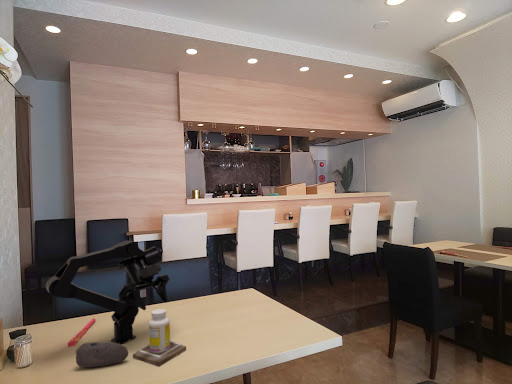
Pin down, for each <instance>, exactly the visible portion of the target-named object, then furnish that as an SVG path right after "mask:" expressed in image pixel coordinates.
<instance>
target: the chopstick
mask: <svg viewBox="0 0 512 384" xmlns="http://www.w3.org/2000/svg"><path fill="white" fill-rule="evenodd" d="M96 321H97V319H96V318H94V317H92V318H91V319H90V320H89V321H88V322H87V323H86V324H85V325H84V326H83V327H82V328H81V329H80V330H78V332H77V333H75V334H74V336H73V337H72V338H71V339H70V340H69V341H68V342H67V343H66V344H67V347H69V348H70V347H71V348H72V347H74V346H75V345H76V344H77V343H78V341H80V340H81V338H82V337H83V336H84V335H85V334H86V332H87V331H88V330H89V329H90V328H91V327H92V326H93V325H94V323H95V322H96Z"/></svg>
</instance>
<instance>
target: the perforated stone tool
mask: <svg viewBox="0 0 512 384" xmlns="http://www.w3.org/2000/svg"><path fill="white" fill-rule="evenodd" d="M128 355H129V351H128V348H127V347H126V346H124V345H123V344H119V343H116V342H104V341H103V342H102V341H101V342H98V341H97V342H86V343H82V344H81V345H79V346H78V348H77V349H76V350H75V362H76V364H77V366H79V367H80V368H97V367H104V366H105V367H106V366H110V365H115V364H118V363H121V362H123V361H125V360H126V359H127V358H128Z"/></svg>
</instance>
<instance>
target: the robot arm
mask: <svg viewBox="0 0 512 384" xmlns="http://www.w3.org/2000/svg"><path fill="white" fill-rule="evenodd" d="M139 247H140V246H139V244H138V243H136V242H135V241H132V240H131V241H130V240H123V241H120V242H119V243H117V244H114V245H112V246H111V247H108V248H105V249H101V250H97V251H92V252H89V253H84V254H81V255H76V256H70V257H69V258H68V259H67V260H66V261H65V263H64V264H63V265H62V266H61V267H60V268H59V270H57V272H56V273H55V274H54V275H53V276H51V277H50V278H49V279H48V280H47V281H46V283H45V288H46V291H47V292H48V293H49V294H50V295H51V296H52V297H54V298H61V299H75V300H77V301H78V300H79V301H81V302H85V303H88V304H91V305H94V306H98V307H101V308H104V309H106V310H110V311H113V314H112V315H111V319H112V321H113V329H114V330H113V334H114V335H113V336H114V337H113V338H111V339H110V341H111V342H112V343H117V344H121V345H123V344H126V343H127V342H130V341H131V340H134V339H136V338H137V336H136V335H135V334H134V329H133V328H134V327H133V325H134V322H135V321H136V317H137V315H138V314H139V311H140V310H139V309H141V310H143V311H146V310H147V307H146V304H145V302H144V300H143V299H142V296H141V295H140V291H142V290H146V289H150V288H152V287H153V289H154V290H155V293H156V294H157V295H158V296H159V298H160V299H161V300H162V301H163V302H164V303H168V296H167V288H166V287H167V285H168V283H169V281H170V280H171V278H170V277H169V275H168V274H161V275H159V274H160V272H161V271H162V267H161V265H160V263H161V262H162V255H161V254H160V252H159V250H158V249H157V247H156V246H152V247H149V248H148V249H145V250H142V249H141V248H139ZM115 259H120V260H119V262H118V269H119V270H121V269H123V268H125V270H126V272H127V274H128V275H129V277H130V278H129V283H127V284H124V285H123V286H122V288H121V290H120V291H119V293H118V297H119V298H112V297H111V296H107V295H104V294H101V293H99V292H95V291H92V290H89V289H87V288H84V287H81V286H78V285H76V284H75V283H73V281H74V278H75V277H76V275H77V273H78V271H79V269H81V268H85V267H88V266H92V265H95V264H99V263H103V262H106V261H110V260H115ZM155 275H158V276H157V277H156V278H155ZM130 282H131V283H130Z"/></svg>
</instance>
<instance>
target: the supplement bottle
mask: <svg viewBox="0 0 512 384" xmlns="http://www.w3.org/2000/svg"><path fill="white" fill-rule="evenodd" d="M166 315H167V310H166V309H165V308H157V309H154V310H152V311H151V319H150V320H149V321H148V337H149V338H148V340H149V344H148V345H150V352H151V353H154V354H160V353H164V352H166V351H168V350H169V349H170V341H171V328H170V327H171V325H170V318H169V317H167V316H166Z"/></svg>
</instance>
